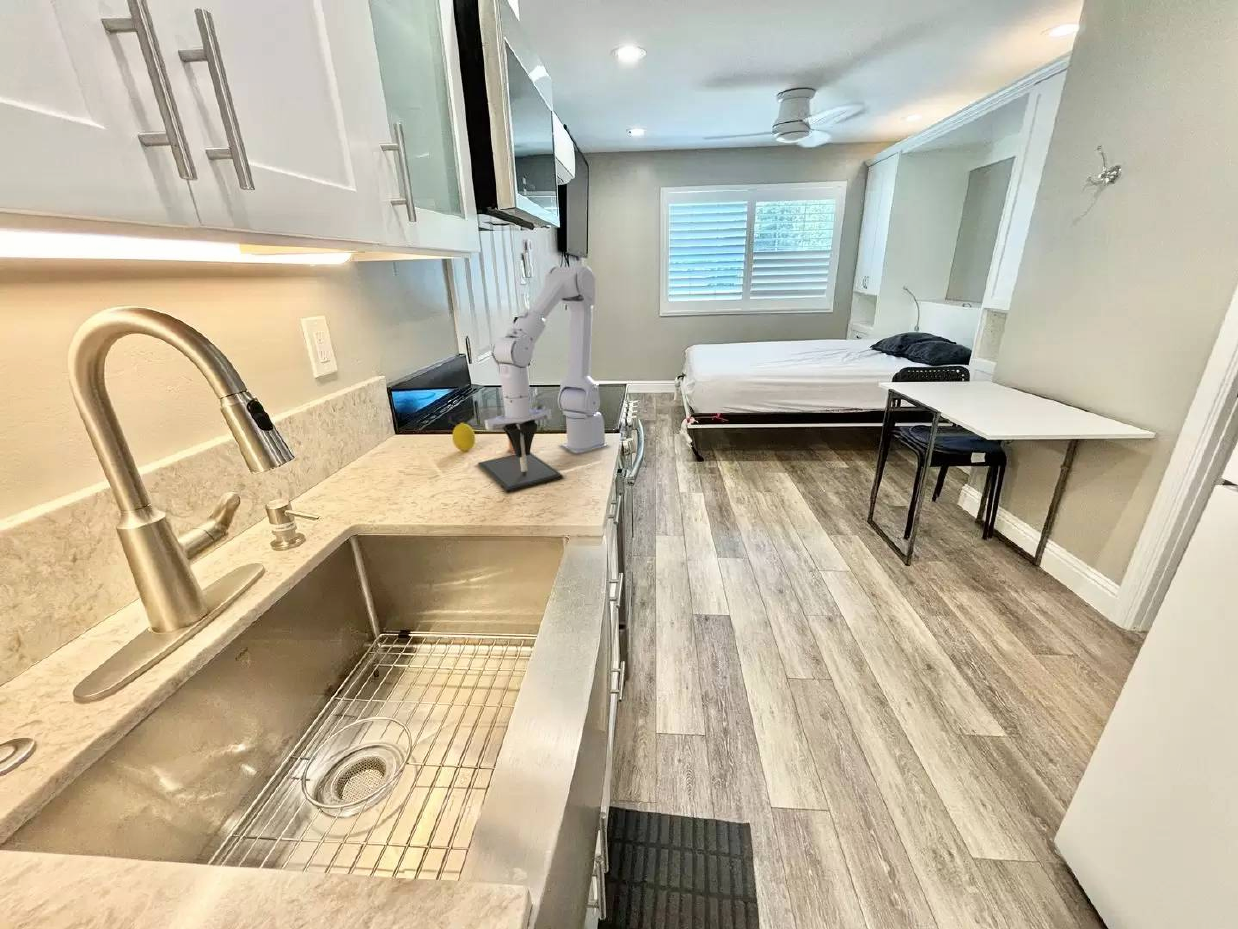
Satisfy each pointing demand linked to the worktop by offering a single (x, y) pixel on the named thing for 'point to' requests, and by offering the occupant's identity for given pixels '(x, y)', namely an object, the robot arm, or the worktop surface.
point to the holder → (510, 445)
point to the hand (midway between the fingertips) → (522, 454)
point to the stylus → (523, 455)
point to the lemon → (463, 437)
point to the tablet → (519, 472)
